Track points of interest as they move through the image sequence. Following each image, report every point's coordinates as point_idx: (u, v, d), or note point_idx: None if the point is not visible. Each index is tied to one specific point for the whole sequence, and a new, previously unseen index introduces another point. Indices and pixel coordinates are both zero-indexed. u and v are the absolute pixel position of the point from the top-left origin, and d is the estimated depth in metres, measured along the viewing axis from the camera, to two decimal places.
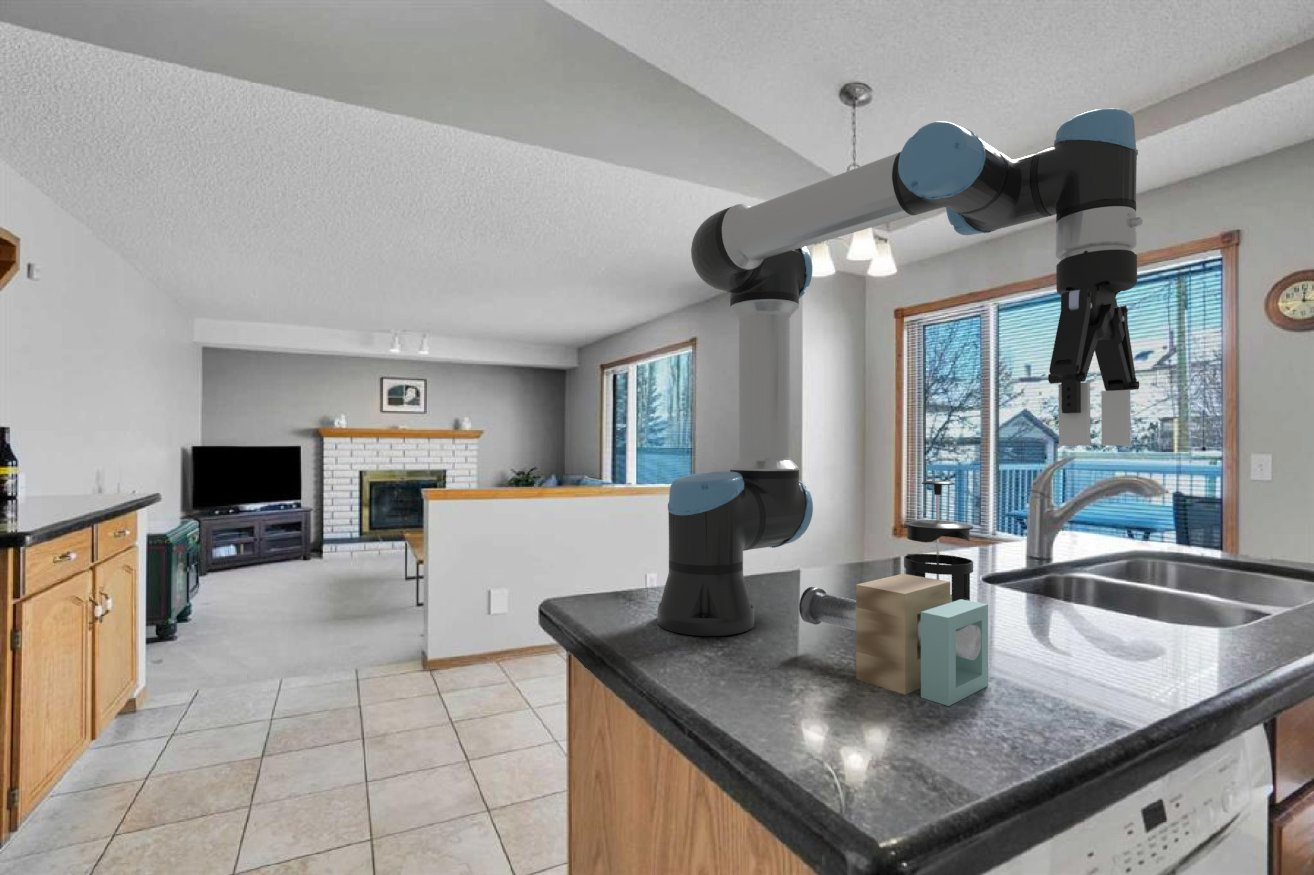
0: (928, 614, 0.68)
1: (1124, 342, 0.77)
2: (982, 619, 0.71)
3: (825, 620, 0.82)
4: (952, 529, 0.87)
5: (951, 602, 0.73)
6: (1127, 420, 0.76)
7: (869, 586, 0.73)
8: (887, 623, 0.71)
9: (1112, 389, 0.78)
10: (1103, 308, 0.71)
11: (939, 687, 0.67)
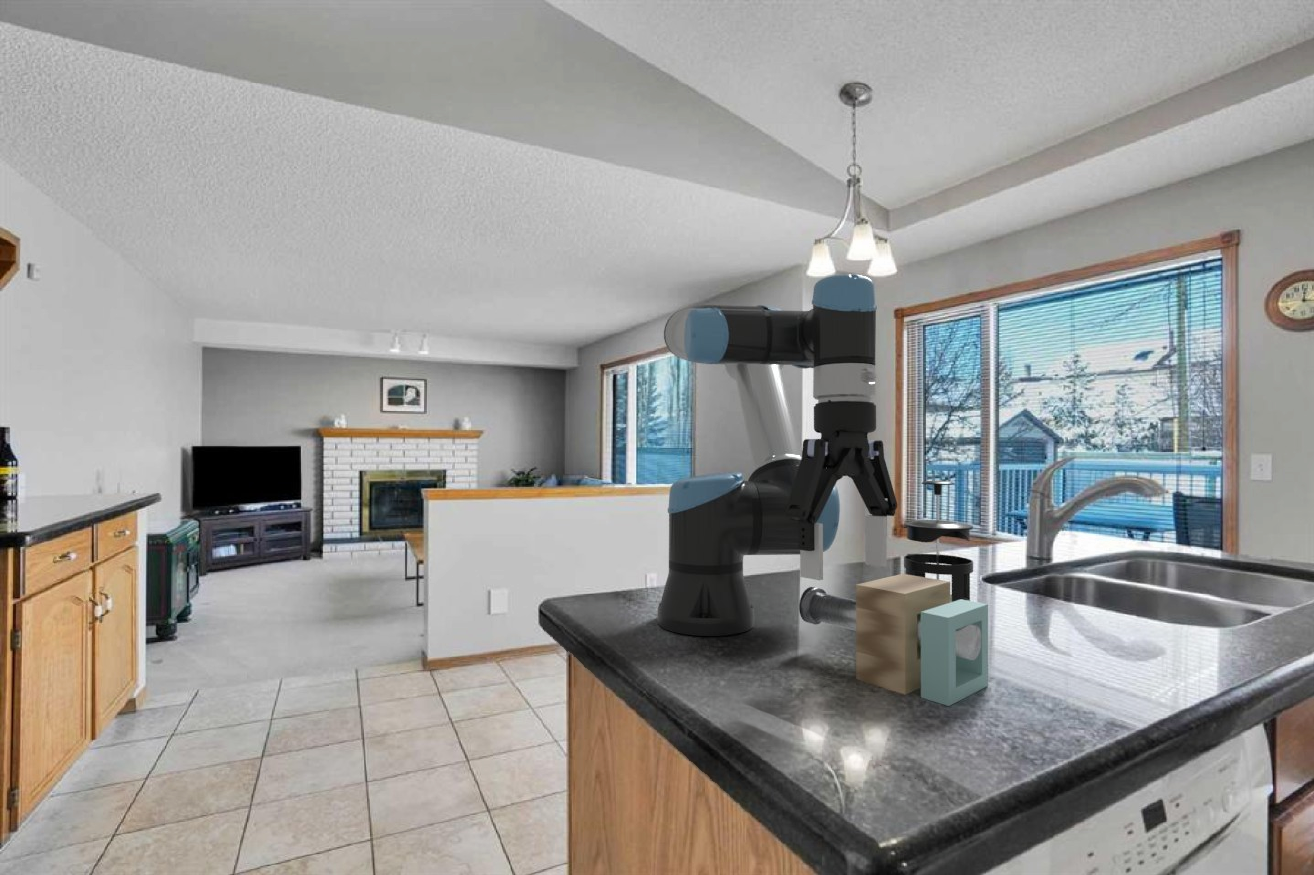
0: (928, 614, 0.68)
1: (881, 473, 0.85)
2: (982, 619, 0.71)
3: (825, 620, 0.82)
4: (952, 529, 0.87)
5: (951, 602, 0.73)
6: (882, 544, 0.84)
7: (869, 586, 0.73)
8: (887, 623, 0.71)
9: (874, 514, 0.86)
10: (844, 452, 0.79)
11: (939, 687, 0.67)
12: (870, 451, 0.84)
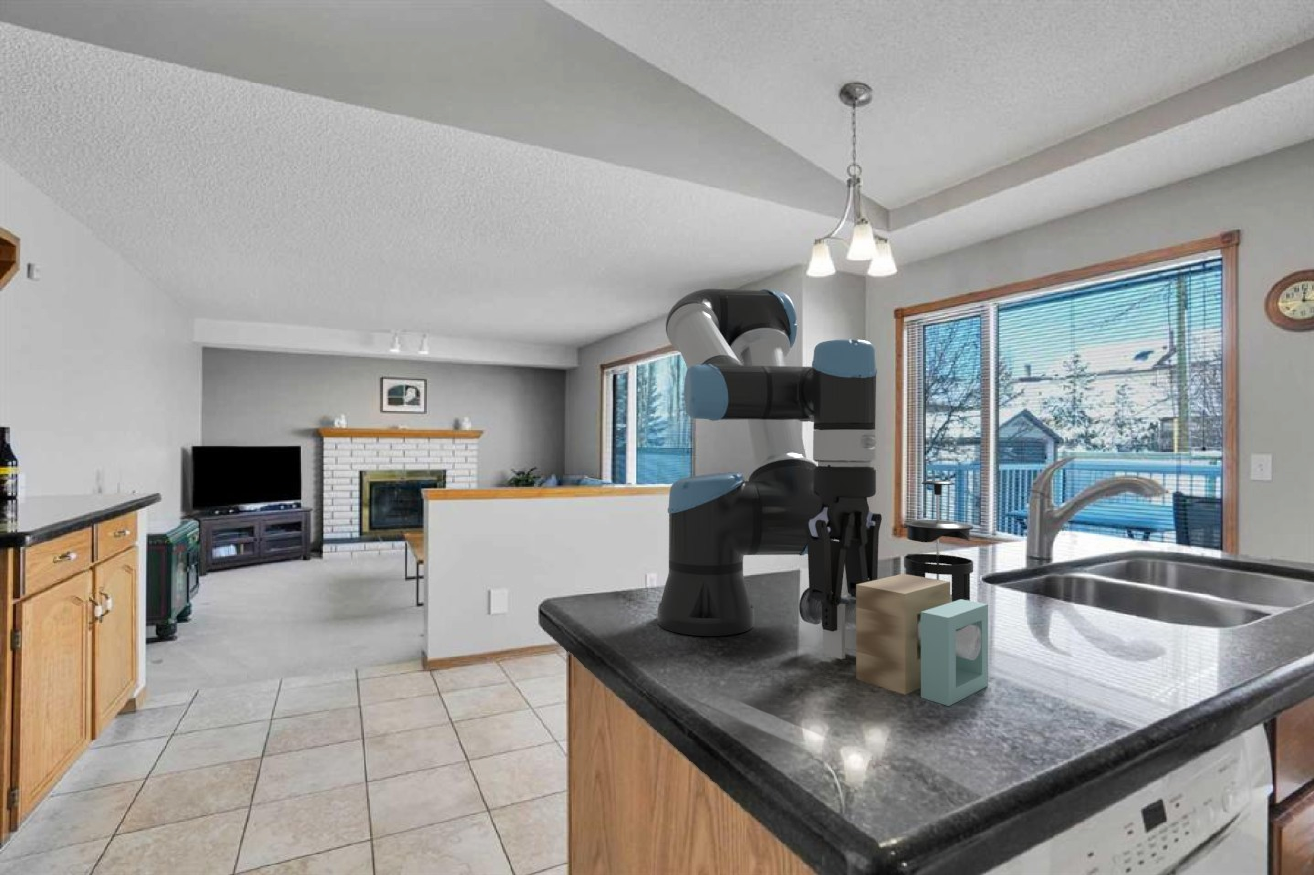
0: (928, 614, 0.68)
1: (871, 546, 0.84)
2: (982, 619, 0.71)
3: None
4: (952, 529, 0.87)
5: (951, 602, 0.73)
6: None
7: (869, 586, 0.73)
8: (887, 623, 0.71)
9: (852, 595, 0.83)
10: (843, 520, 0.79)
11: (939, 687, 0.67)
12: (867, 519, 0.84)
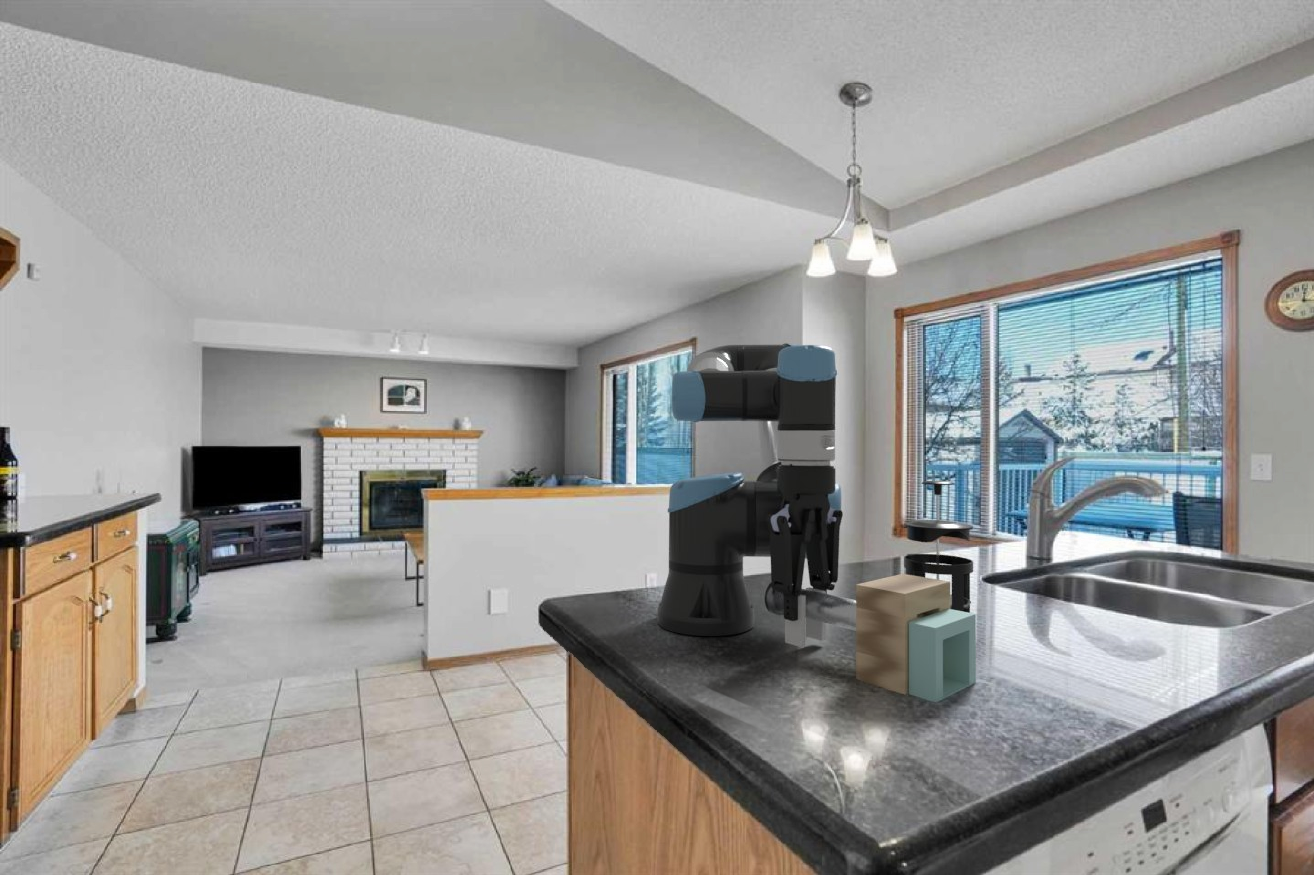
0: (916, 624, 0.69)
1: (832, 540, 0.88)
2: (970, 629, 0.73)
3: None
4: (952, 529, 0.87)
5: (939, 612, 0.74)
6: None
7: (869, 586, 0.73)
8: (887, 623, 0.71)
9: (814, 587, 0.88)
10: (804, 516, 0.84)
11: (926, 696, 0.68)
12: (829, 515, 0.89)
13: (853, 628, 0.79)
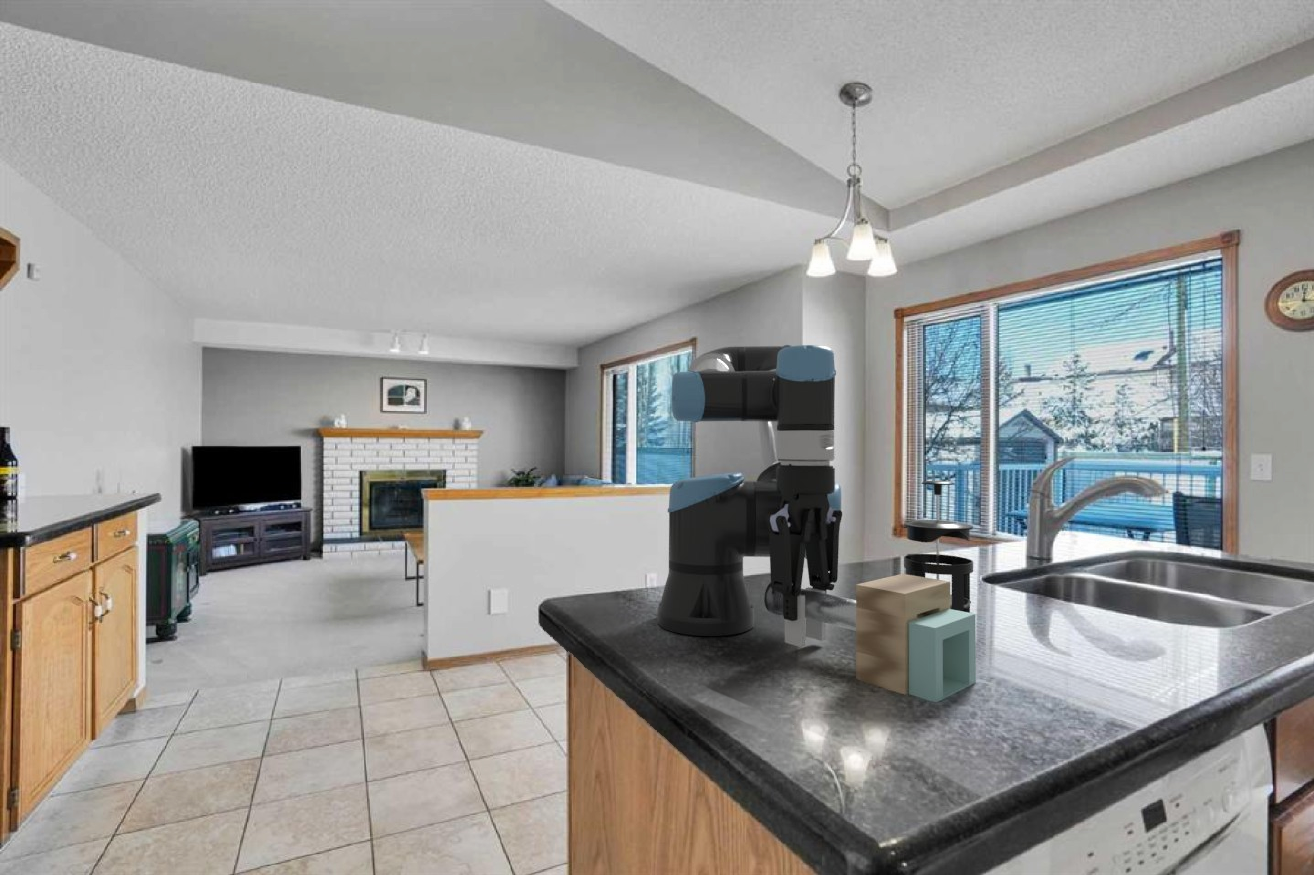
0: (916, 624, 0.69)
1: (831, 540, 0.88)
2: (969, 629, 0.73)
3: None
4: (952, 529, 0.87)
5: (939, 612, 0.74)
6: None
7: (869, 586, 0.73)
8: (887, 623, 0.71)
9: (814, 587, 0.88)
10: (803, 516, 0.84)
11: (926, 696, 0.68)
12: (828, 515, 0.89)
13: (853, 628, 0.79)
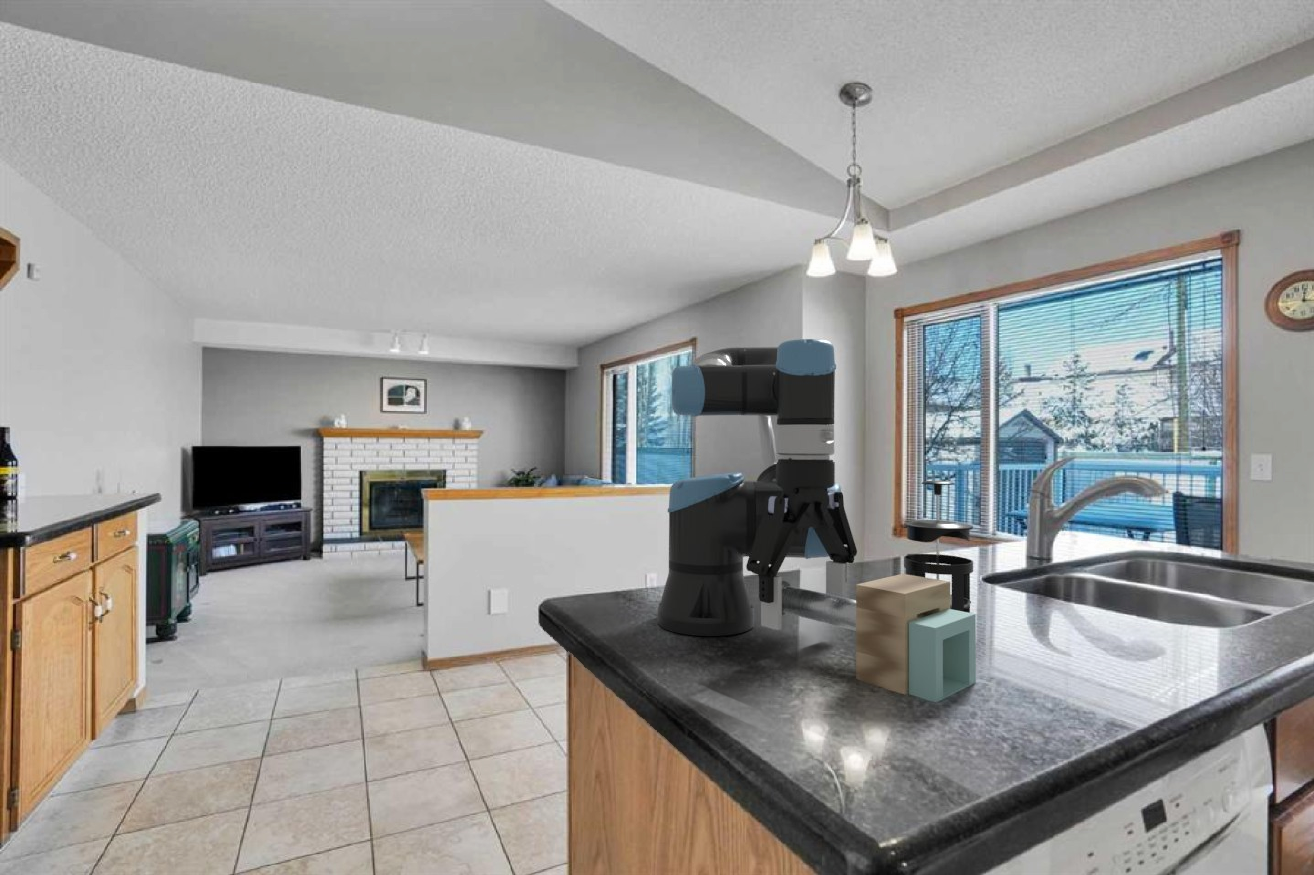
0: (916, 624, 0.69)
1: (841, 523, 0.90)
2: (969, 629, 0.73)
3: (788, 611, 0.86)
4: (952, 529, 0.87)
5: (939, 612, 0.74)
6: (841, 590, 0.89)
7: (869, 586, 0.73)
8: (887, 623, 0.71)
9: (834, 560, 0.91)
10: (803, 507, 0.84)
11: (926, 696, 0.68)
12: (830, 502, 0.89)
13: (853, 628, 0.79)
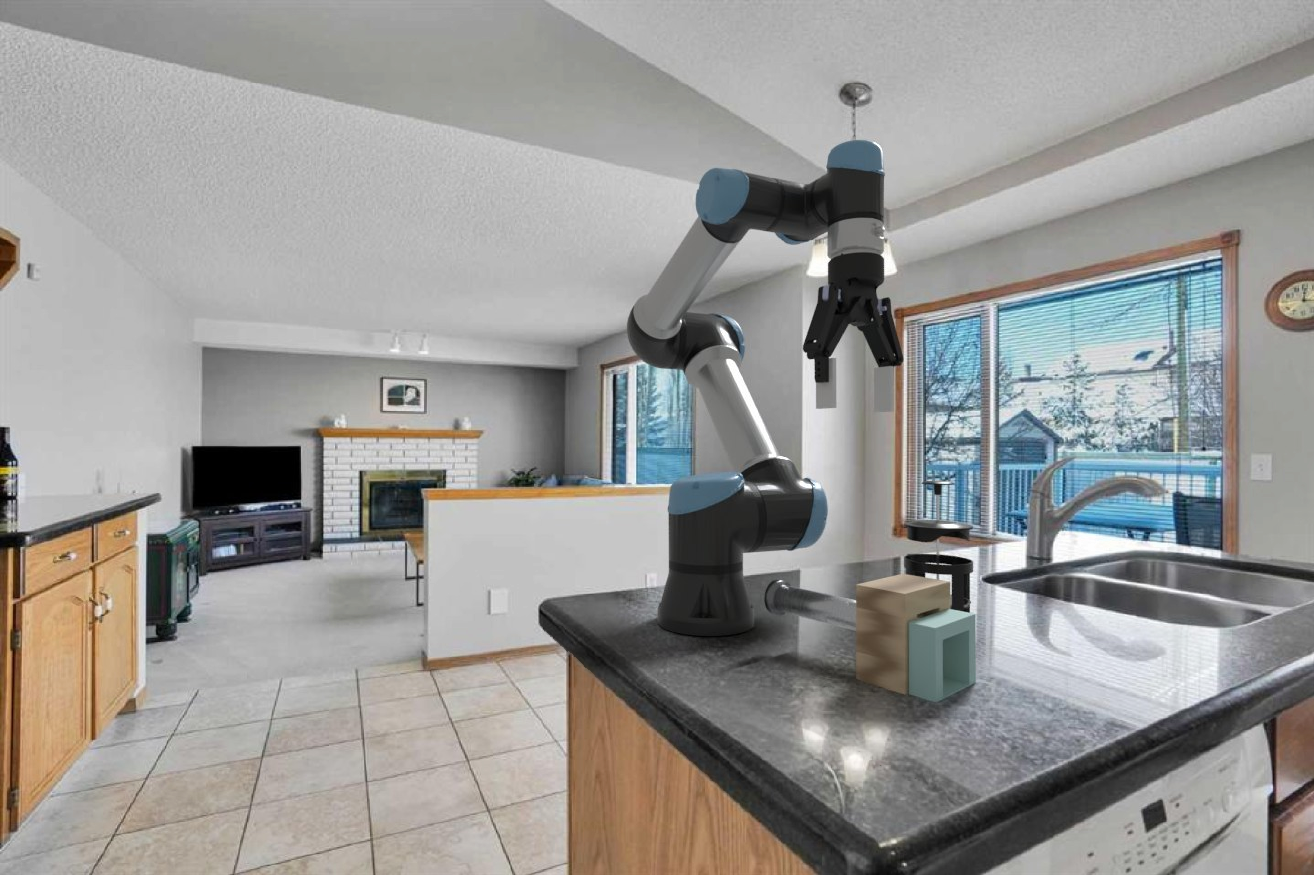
0: (916, 624, 0.69)
1: (888, 327, 0.94)
2: (969, 629, 0.73)
3: (788, 611, 0.86)
4: (952, 529, 0.87)
5: (939, 612, 0.74)
6: (890, 390, 0.93)
7: (869, 586, 0.73)
8: (887, 623, 0.71)
9: (882, 366, 0.95)
10: (855, 299, 0.88)
11: (926, 696, 0.68)
12: (879, 307, 0.93)
13: (853, 628, 0.79)
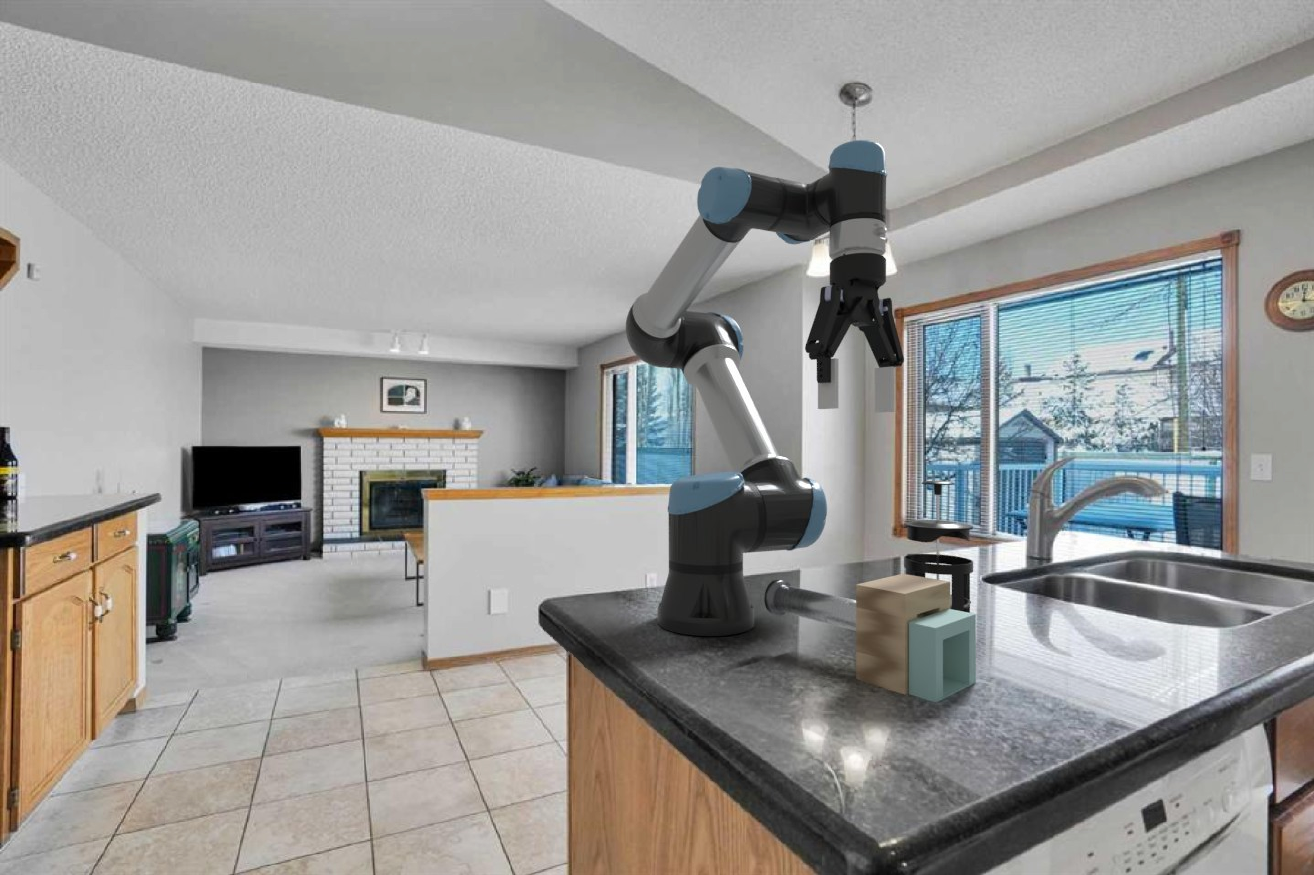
0: (916, 624, 0.69)
1: (889, 328, 0.94)
2: (970, 629, 0.72)
3: (788, 611, 0.86)
4: (952, 529, 0.87)
5: (939, 612, 0.74)
6: (890, 391, 0.94)
7: (869, 586, 0.73)
8: (887, 623, 0.71)
9: (883, 366, 0.95)
10: (857, 300, 0.88)
11: (926, 696, 0.68)
12: (880, 307, 0.94)
13: (853, 628, 0.79)
